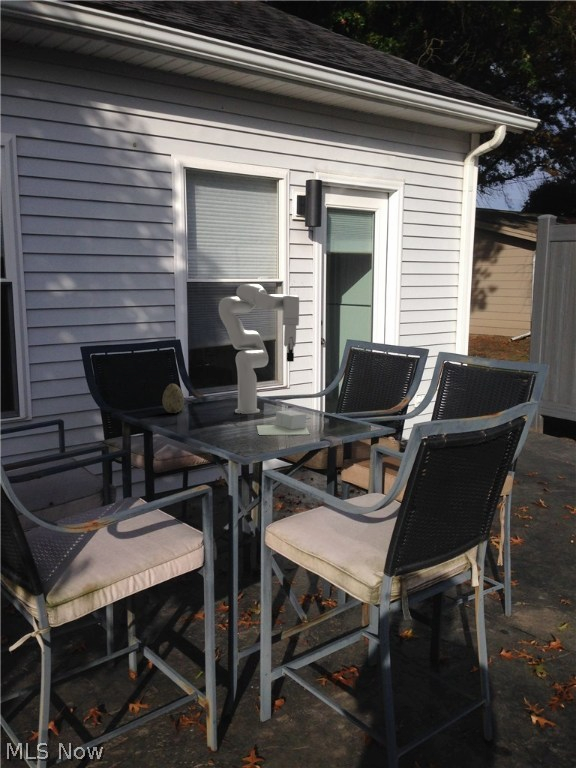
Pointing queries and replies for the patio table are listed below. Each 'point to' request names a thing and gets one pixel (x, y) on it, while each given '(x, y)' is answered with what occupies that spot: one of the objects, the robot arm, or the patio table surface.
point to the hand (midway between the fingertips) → (290, 361)
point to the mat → (280, 430)
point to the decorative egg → (173, 399)
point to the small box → (291, 419)
